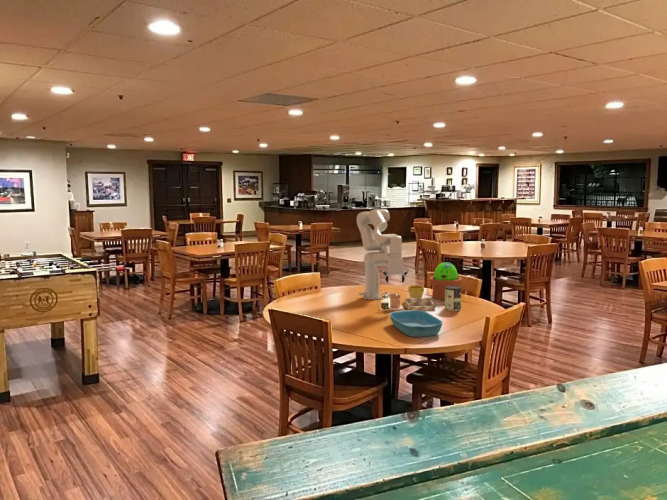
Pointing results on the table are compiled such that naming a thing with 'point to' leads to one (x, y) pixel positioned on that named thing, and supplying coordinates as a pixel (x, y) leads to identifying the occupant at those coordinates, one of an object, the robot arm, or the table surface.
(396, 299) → the terracotta pot
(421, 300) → the frame
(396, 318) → the casserole dish
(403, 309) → the stone tile
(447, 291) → the coffee can
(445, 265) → the potted cactus
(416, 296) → the plant pot
